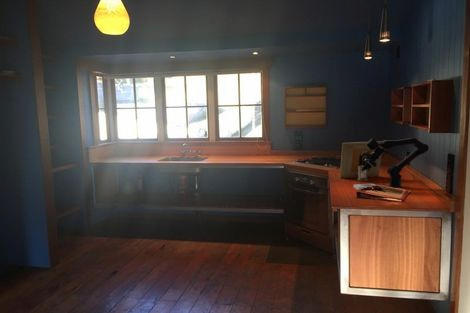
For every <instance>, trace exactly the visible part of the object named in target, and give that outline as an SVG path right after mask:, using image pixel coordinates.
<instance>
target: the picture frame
mask: <svg viewBox="0 0 470 313" xmlns="http://www.w3.org/2000/svg"><path fill="white" fill-rule="evenodd" d="M376 141H377V140H376ZM382 141H383V140H382ZM382 141H379V140H378V141H377V142H378V143H380V142H382ZM367 142H368V141H357V142H355V141H353V142H342V145H341V155H340V157H341V158H340V166H339V167H340V171H339V178H340V179H345V178H349V179H350V178H358V166H361V165H362V163H363V161H362V160H363V159H362V158H363V157H366V156H363V155H361V153H362V151H365V152H366V151H368V152H369V153H371V152H373V151H374V150H371V149H370V148H369V147H368V146H367V145H366V143H367ZM379 147H380V148H383V147H382V146H379ZM381 160H382V155H381V156H380V157H379V159H377V160H376V161H375V163H376V164H377V166H376V167H373V166H372V168H369V169H367V178H369V177H372V178H373V177H379V176H380V170H381Z"/></svg>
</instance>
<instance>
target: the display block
mask: <svg viewBox="0 0 470 313" xmlns="http://www.w3.org/2000/svg"><path fill="white" fill-rule="evenodd" d="M374 185H375V184H374V183H361V184H360V183H359V184H353V188H354V189H356V190H357V191H362V190H361V189H363V188H367V187H370V186H374Z"/></svg>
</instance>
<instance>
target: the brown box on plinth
mask: <svg viewBox="0 0 470 313" xmlns="http://www.w3.org/2000/svg"><path fill="white" fill-rule="evenodd" d="M363 167H364V166H358V177H356V178H357V181H360V182H362V181H365V182H366V181H369V179H368V177H367V169H366V170H364V171H361V169H362V168H363Z"/></svg>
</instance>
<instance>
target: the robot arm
mask: <svg viewBox="0 0 470 313" xmlns="http://www.w3.org/2000/svg"><path fill="white" fill-rule="evenodd" d="M366 142H367V143H366V145H367V146H368V147H369V148H370V149H371V150H374V151H373V152H371V153H369V152H368V151H366V152H365V151H362V153H361V155H363V156H366V157H363V158H362V159H363V160H362V161H363V163H362V165H361V166H364V167H363V168H362V169H361V171H364V170H366V169H369V168H372V166H373V167H376V166H377V164H376V163H375V161H376V160H377V159H379V157H380V156H381V157H382V155H383V154H385V155H387V153H388V150H389V149H392V148H394V147H399V146H405V145H411V144H412V145H413V146H414V147H415V148H414V149H413V151H411V152H410V153H409V154H408V155H406V157H404V158H403V159H402V160H401V161H400V162H398V163H397V164H393V163H392V164H391V165H390V166H389V167H388V169H386V170H387V171H386V172H387V174H388V175H389V177H390V178H389V185H388V186H389V187H392V188H402V187H403V186H402V185H401V184H402V177H403V176H402V174H401V171H402V169H404V167H406V166H408V165H409V164H410V163H411V162H412V161H413V160H415V159H416V158H417V157H418V156H421V155H423V154H425V153H427V152H428V151H429V150H430V148H429V145H428V144H427V143H423V142H422V141H420V140H418V139H417V138H415V137H409V138H404V139H403V138H402V139H397V140H390V139H389V140H386V139H384V140H382V142H380V143H378V142H377V140H376V139H375V138H370V139H369V140H368V141H366ZM379 146H382V148H380V147H379ZM386 149H387V150H386Z"/></svg>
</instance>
